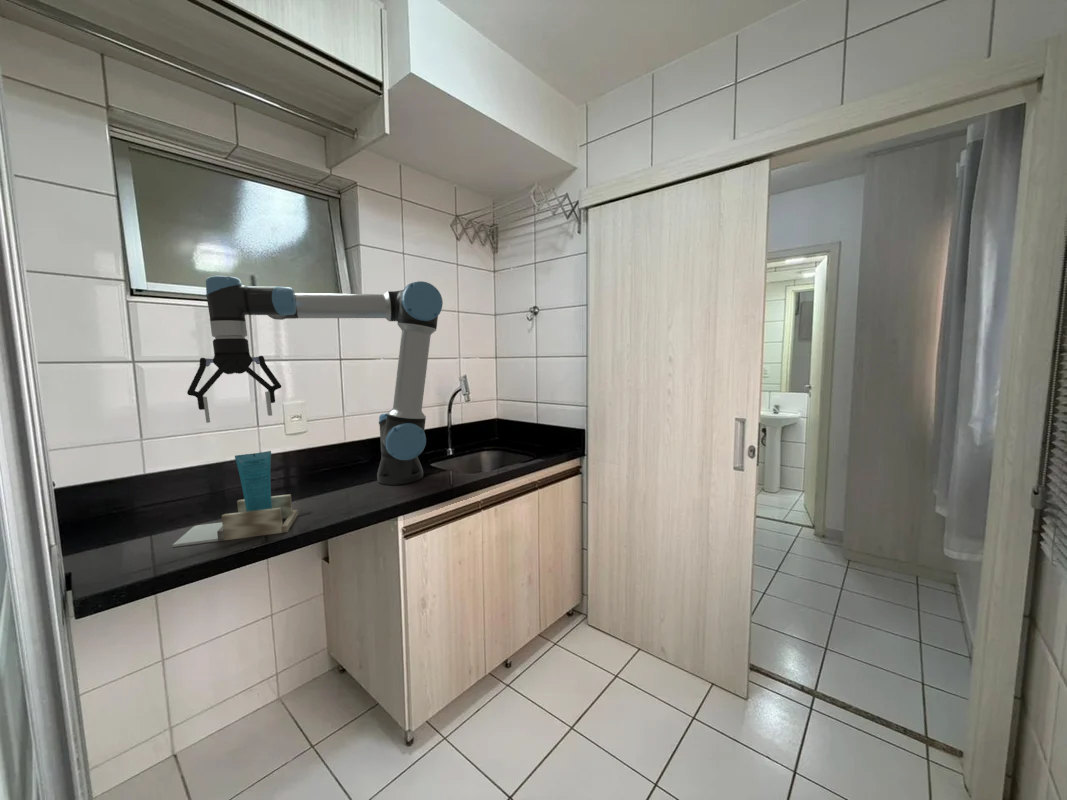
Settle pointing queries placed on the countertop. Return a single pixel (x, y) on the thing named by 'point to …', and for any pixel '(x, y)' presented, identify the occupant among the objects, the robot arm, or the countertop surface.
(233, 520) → the rack
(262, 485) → the tube
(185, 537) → the mat
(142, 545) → the countertop surface
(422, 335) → the robot arm
